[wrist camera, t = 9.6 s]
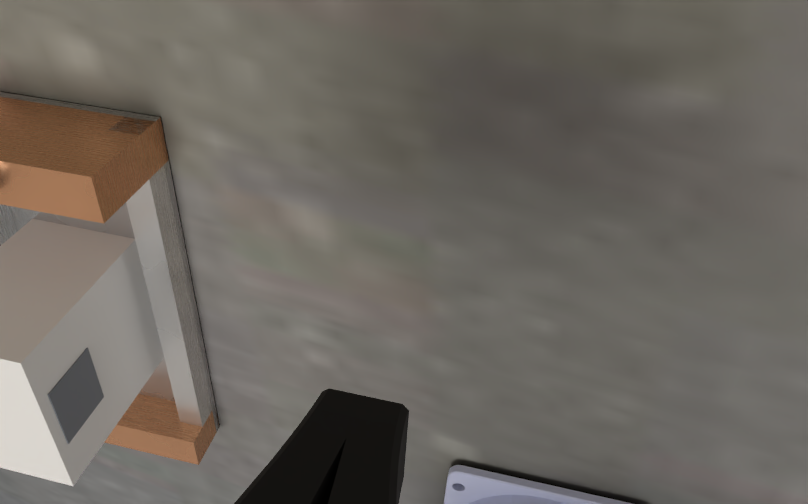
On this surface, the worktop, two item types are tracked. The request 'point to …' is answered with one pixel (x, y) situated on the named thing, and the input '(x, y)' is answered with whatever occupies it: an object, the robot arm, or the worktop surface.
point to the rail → (124, 216)
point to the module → (69, 345)
